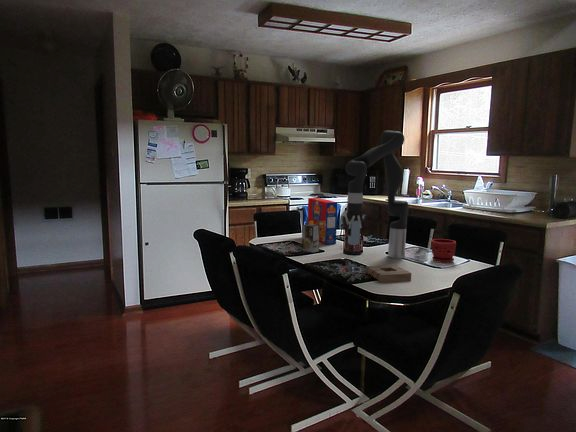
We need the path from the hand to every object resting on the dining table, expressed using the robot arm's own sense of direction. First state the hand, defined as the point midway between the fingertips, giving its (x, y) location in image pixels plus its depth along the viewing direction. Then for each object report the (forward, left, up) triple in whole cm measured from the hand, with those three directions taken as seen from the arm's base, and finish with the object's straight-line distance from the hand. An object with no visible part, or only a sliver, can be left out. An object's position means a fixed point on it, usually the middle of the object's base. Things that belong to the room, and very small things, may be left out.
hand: (353, 235), depth 210 cm
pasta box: (-76, +10, -19) cm, 79 cm away
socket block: (+11, +14, -19) cm, 26 cm away
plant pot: (-9, +59, -19) cm, 63 cm away
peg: (0, 0, -4) cm, 4 cm away
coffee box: (-48, -7, -19) cm, 52 cm away
